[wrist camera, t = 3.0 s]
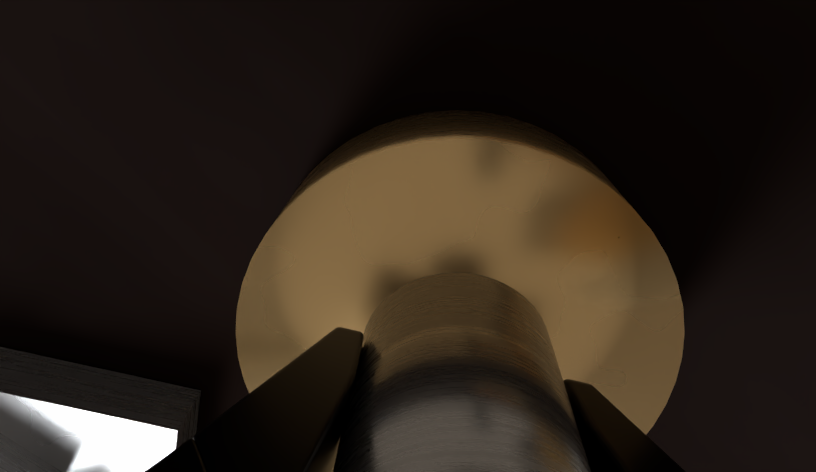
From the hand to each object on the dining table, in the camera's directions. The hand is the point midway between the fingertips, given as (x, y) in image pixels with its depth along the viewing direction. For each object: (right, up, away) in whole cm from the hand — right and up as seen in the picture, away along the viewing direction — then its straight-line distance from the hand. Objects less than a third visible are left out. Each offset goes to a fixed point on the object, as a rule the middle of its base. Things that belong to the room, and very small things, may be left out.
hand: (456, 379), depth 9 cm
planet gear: (0, +1, +2) cm, 3 cm away
